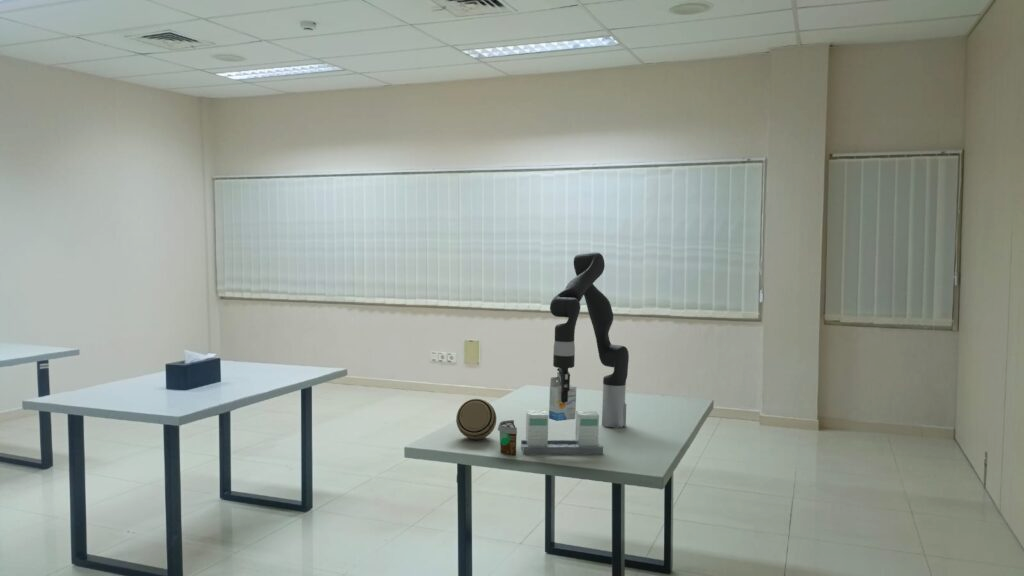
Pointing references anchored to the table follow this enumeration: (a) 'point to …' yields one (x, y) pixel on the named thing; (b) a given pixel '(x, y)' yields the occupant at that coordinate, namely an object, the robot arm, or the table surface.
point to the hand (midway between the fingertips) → (562, 399)
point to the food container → (508, 437)
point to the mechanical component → (476, 419)
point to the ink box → (559, 408)
